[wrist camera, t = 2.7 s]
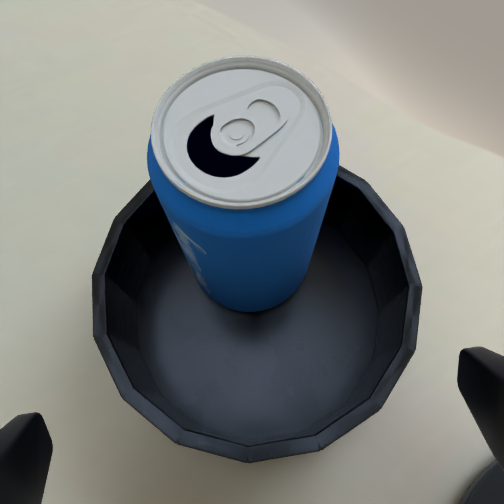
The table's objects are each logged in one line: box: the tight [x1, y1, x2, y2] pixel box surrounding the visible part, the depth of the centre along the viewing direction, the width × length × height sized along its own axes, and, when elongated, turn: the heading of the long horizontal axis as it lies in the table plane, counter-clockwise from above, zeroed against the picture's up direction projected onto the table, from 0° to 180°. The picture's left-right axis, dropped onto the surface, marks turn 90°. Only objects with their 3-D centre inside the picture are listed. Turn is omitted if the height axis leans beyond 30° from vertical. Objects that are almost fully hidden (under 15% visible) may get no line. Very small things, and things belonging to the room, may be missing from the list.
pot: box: [92, 165, 422, 463], centre depth 21 cm, size 14×14×5 cm
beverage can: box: [147, 56, 339, 312], centre depth 19 cm, size 6×6×12 cm
